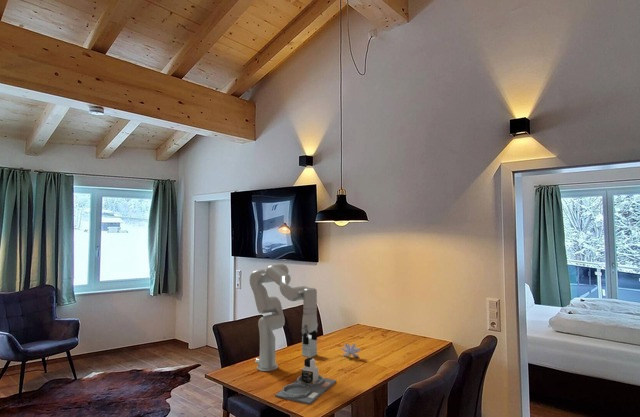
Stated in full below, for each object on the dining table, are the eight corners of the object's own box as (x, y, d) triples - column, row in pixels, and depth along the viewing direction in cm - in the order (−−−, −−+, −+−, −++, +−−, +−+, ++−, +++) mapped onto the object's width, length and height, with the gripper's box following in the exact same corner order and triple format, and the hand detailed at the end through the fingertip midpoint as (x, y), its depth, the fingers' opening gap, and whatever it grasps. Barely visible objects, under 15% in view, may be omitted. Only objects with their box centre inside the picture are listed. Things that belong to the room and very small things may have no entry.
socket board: (275, 396, 189) (275, 394, 189) (304, 376, 216) (304, 374, 216) (310, 404, 180) (309, 402, 180) (336, 382, 207) (336, 380, 207)
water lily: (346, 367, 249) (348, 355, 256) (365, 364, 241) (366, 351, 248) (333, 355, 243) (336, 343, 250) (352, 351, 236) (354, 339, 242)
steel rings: (277, 394, 189) (277, 391, 189) (305, 375, 215) (305, 372, 215) (301, 400, 182) (301, 396, 183) (327, 379, 208) (327, 376, 209)
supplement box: (308, 353, 258) (308, 334, 259) (317, 355, 253) (317, 336, 254) (301, 355, 252) (301, 336, 253) (310, 358, 247) (309, 338, 248)
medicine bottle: (301, 382, 204) (301, 360, 205) (307, 378, 210) (307, 356, 211) (312, 384, 201) (312, 361, 202) (318, 380, 207) (318, 357, 208)
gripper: (311, 307, 217) (311, 337, 216) (296, 313, 202) (296, 345, 201) (323, 308, 214) (323, 339, 213) (308, 314, 199) (308, 347, 198)
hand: (310, 342), depth 207 cm, fingers open, 9 cm apart
